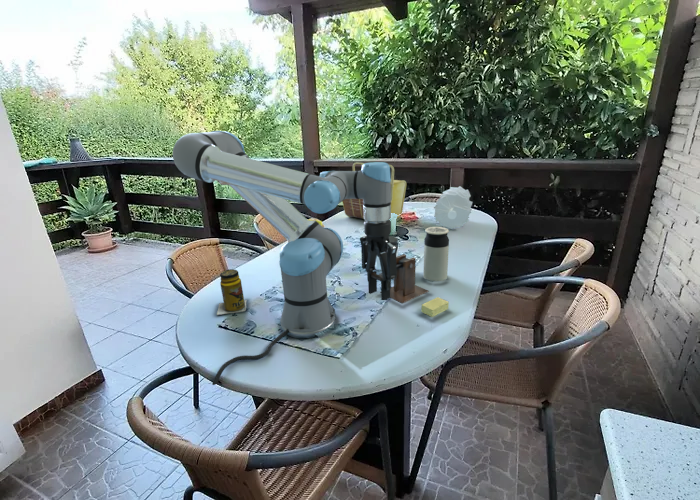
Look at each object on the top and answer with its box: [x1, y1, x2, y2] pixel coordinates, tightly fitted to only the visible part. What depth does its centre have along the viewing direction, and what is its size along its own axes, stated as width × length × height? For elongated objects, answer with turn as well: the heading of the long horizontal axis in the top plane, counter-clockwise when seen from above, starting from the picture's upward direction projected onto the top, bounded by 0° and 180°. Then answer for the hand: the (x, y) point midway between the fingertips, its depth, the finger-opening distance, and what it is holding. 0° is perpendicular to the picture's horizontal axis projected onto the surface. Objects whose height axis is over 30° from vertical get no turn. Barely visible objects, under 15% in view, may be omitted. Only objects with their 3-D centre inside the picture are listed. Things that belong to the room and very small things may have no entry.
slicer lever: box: [371, 257, 409, 282], centre depth 110 cm, size 13×5×2 cm, turn 128°
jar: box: [375, 235, 399, 271], centre depth 134 cm, size 9×8×12 cm
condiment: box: [216, 268, 247, 316], centre depth 111 cm, size 7×8×12 cm
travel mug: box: [422, 226, 450, 283], centre depth 123 cm, size 8×8×18 cm
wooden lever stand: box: [379, 253, 430, 305], centre depth 114 cm, size 12×10×13 cm
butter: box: [420, 296, 450, 318], centre depth 104 cm, size 7×4×4 cm, turn 128°
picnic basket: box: [341, 162, 407, 220], centre depth 202 cm, size 29×26×30 cm
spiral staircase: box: [433, 185, 474, 230], centre depth 185 cm, size 18×18×25 cm
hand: (379, 295), depth 109 cm, fingers closed on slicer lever, 5 cm apart
